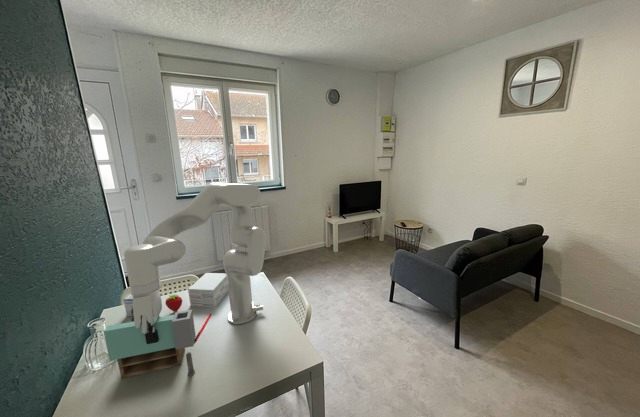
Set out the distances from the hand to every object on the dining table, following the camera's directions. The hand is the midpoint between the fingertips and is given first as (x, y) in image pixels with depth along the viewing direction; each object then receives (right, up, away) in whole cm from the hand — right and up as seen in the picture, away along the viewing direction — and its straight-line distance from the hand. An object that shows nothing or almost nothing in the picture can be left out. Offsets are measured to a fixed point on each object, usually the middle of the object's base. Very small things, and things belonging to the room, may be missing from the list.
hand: (154, 338), depth 81 cm
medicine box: (-35, -8, +41) cm, 55 cm away
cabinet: (-3, -14, +8) cm, 17 cm away
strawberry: (-16, -8, +40) cm, 44 cm away
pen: (+2, -10, +29) cm, 31 cm away
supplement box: (-4, -5, +52) cm, 53 cm away
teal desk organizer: (0, -4, +1) cm, 4 cm away
